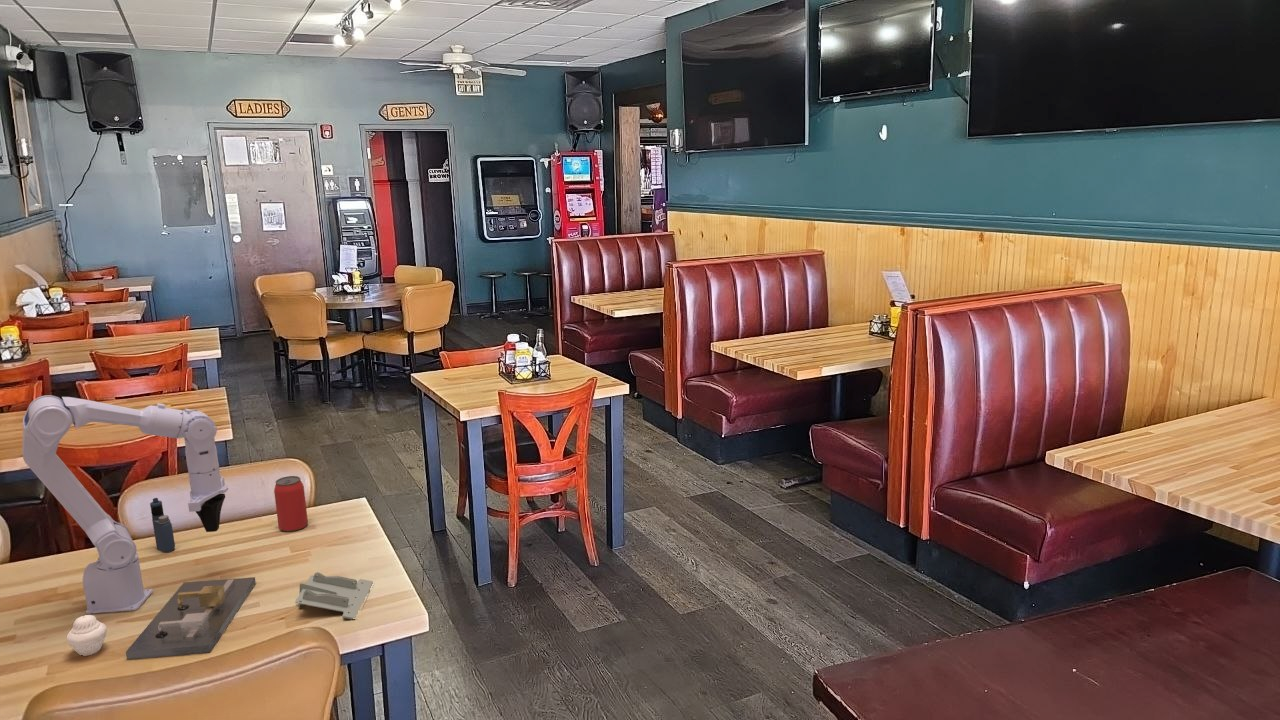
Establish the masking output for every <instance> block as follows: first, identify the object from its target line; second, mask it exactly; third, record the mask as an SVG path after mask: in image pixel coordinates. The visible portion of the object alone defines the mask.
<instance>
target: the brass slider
mask: <svg viewBox="0 0 1280 720" xmlns="http://www.w3.org/2000/svg"><path fill="white" fill-rule="evenodd" d="M192 597H199V602H200V607H210V606H220V605H221V604H222V602H223V601H224V599H225V591H224V585H216V586H204V587H203V588H202V590H201V591H196V592H182V593H179V594H178V605H179V609H181V608H182V601H181V598H192Z"/></svg>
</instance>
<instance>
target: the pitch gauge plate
mask: <svg viewBox="0 0 1280 720" xmlns="http://www.w3.org/2000/svg"><path fill="white" fill-rule="evenodd" d="M256 584H257V582H256V576H254V577H253V576H252V577H251V576H250V577H239V578H238V577H237V578H225V579H224V578H223V579H214V580H213V579H211V580H200V581H199V580H198V581H186V582H185V581H183V583H182V584H181V586H179V588H178V589H177V590H176V591H175V593H174V594H173V595H172V596H171V597H170V599H169V600H168V601H167V602H166V603H165V605H164V606H163V607H162V608H161V609H160V610H159V612H157V614H156V615H155V616H154V618H153V619H152V620H151V621H150V622H149V623H148V625H147V626H146V627H144V629H143V631H142V632H141V633H140V635H138V636H137V638H136V639H135V640H134V641H133V642H132V644H131V645H130V646H129V647H128V649H127V650H126V651H125V655H126V660H140V659H150V658H152V659H153V658H162V657H175V656H185V655H187V656H188V655H197V654H210V653H211V652H212V651H213V650H214V648H215V646H216V644H217V643H218V642H219V640H220V639H221V637H222V635H223V634H224V632H225V631H226V629H227V628H228V626H229V625H230V623H231V622H232V620H233V619H234V617H235V616H236V614H237V613H238V611H239V610H240V609H241V607H242V606H243V604H244V602H245V601H246V599H247V598H248V597H249V595H250V593H251V592H252V590H253V589H254V587H255V586H256ZM216 585H224V591H225V599H224V601H223V602H222V604H221V605H220V606H210V607H200V602H199V597H192V598H181V601H182V608H181V609H179V605H178V594H179V593H182V592H196V591H201V590H202V588H203V587H204V586H216Z"/></svg>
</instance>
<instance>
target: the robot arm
mask: <svg viewBox="0 0 1280 720" xmlns="http://www.w3.org/2000/svg"><path fill="white" fill-rule="evenodd" d="M92 422H93V423H94V422H95V423H103V424H111V425H114V424H115V425H123V426H132V427H138V429H139V431H140V432H141V433H142V434H144V435H149V436H150V435H152V436H157V437H165V438H172V439H183V438H184V439H183V440H184V447H185V450H184V453H185V459H186V466H187V472H188V473H187V474H188V478H189V480H188V482H189V486H190V491H189V492H190V493H189V501H188V503H187V505H188V510H189V511H188V512H189V513H194V512H195V513H196V514H197V516H198V518H199V519H200V521H201V524H202V525H203V528H204V530H205V533H213V532H217V531H218V530H219V529H220V524H221V523H220V522H221V513H222V509H223V508H222V507H223V504H224V503H225V502H224V501H225V499H226V494H225V493H227V492H228V490H229V487H228V486H226V484H225V477H224V476H221V472H220V465H219V463H220V462H219V458H218V449H217V446H216V443H215V441H216V439H215V437H216V435H217V432H218V427H217V426H216V424H215V422H214V420H212V419H211V417H210V416H209V415H207V414H206V413H205V412H203V411H200V410H198V409H189V408H184V410H181V409H177V408H170V407H166V405H165V404H164V403H160V402H158V403H157V404H156V405H152V404H151V405H147V407H144V408H141V409H136V408H132V407H126V406H120V405H115V404H111V403H105V402H100V401H94V400H90V399H84V398H78V397H73V396H72V397H71V396H61V398H60V397H59V396H56V395H51V394H49V395H42V396H38V397H36V398H35V399H33V400H32V401H31V402H30V404H29V405H28V406H27V409H26V411H25V414H24V415H23V418H22V447H21V449H22V451H21V453H22V458H23V459H22V460H23V461H24V464H26V465H27V466H28V467H29V469H30V470H31V471H32V472H33V473H34V474H35V476H36V477H37V479H39V480H40V481H41V483H42V484H43V485H44V486H45V487H46V488H47V489H48V491H49V492H50V493H51V494H52V495H53V496H54V498H55V499H56V500H57V502H59V504H60V505H62V507H63V508H64V509H65V510H66V512H68V514H69V515H70V516H71V517H72V519H74V520H75V522H76V523H77V525H79V526H80V528H81V529H82V530H83V531H84V532H85V534H86V535H87V537H88V538H89V539H90V541H91V543H92V544H93V546H94V547H95V548H96V550H97V553H98V558H97V560H96V561H95V562H90V563H89V564H87V565H86V566H85V569H84V570H83V576H82V586H83V591H84V598H85V603H86V607H87V609H86V611H85V613H86V614H85V615H92V614H100V613H101V614H103V613H114V612H126V611H127V612H129V611H136V610H138V609H139V608H140V607H141V605H143V603H144V602H145V601H146V600H147V599H148V598H149V596H150V595H151V594H152V593H153V592H154V588H148V589H146V588H144V584H143V583H144V582H143V576H142V570H141V565H140V564H141V563H140V559H139V554H138V553H137V544H136V543H135V541H133V538H132V537H131V533H130V531H129V528H128V527H127V526H126V525H124V524H123V523H120V522H118V521H115V520H114V519H113V517H111V515H110V514H108V513H107V512H106V511H105V510H104V509H103V508H102V506H101V505H100V504H99V503H98V502H97V501H96V499H95V498H94V497H93V495H92V494H91V493H90V492H89V491H88V490H87V488H85V486H84V485H83V484H82V483H81V482H80V481H79V479H78V478H77V476H76V475H75V474H74V473H73V472H72V470H70V469H69V468H68V466H67V465H66V464H65V462H64V461H63V460H62V459H61V458H60V457H59V456H58V454H57V450H58V448H59V444H60V441H61V440H62V439H63V437H64V436H66V434H67V433H68V432H69V430H70V429H71V427H72V424H73V426H74V428H75V429H76V430H77V429H80V428H81V427H83V426H85V425H87V424H90V423H92Z"/></svg>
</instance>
